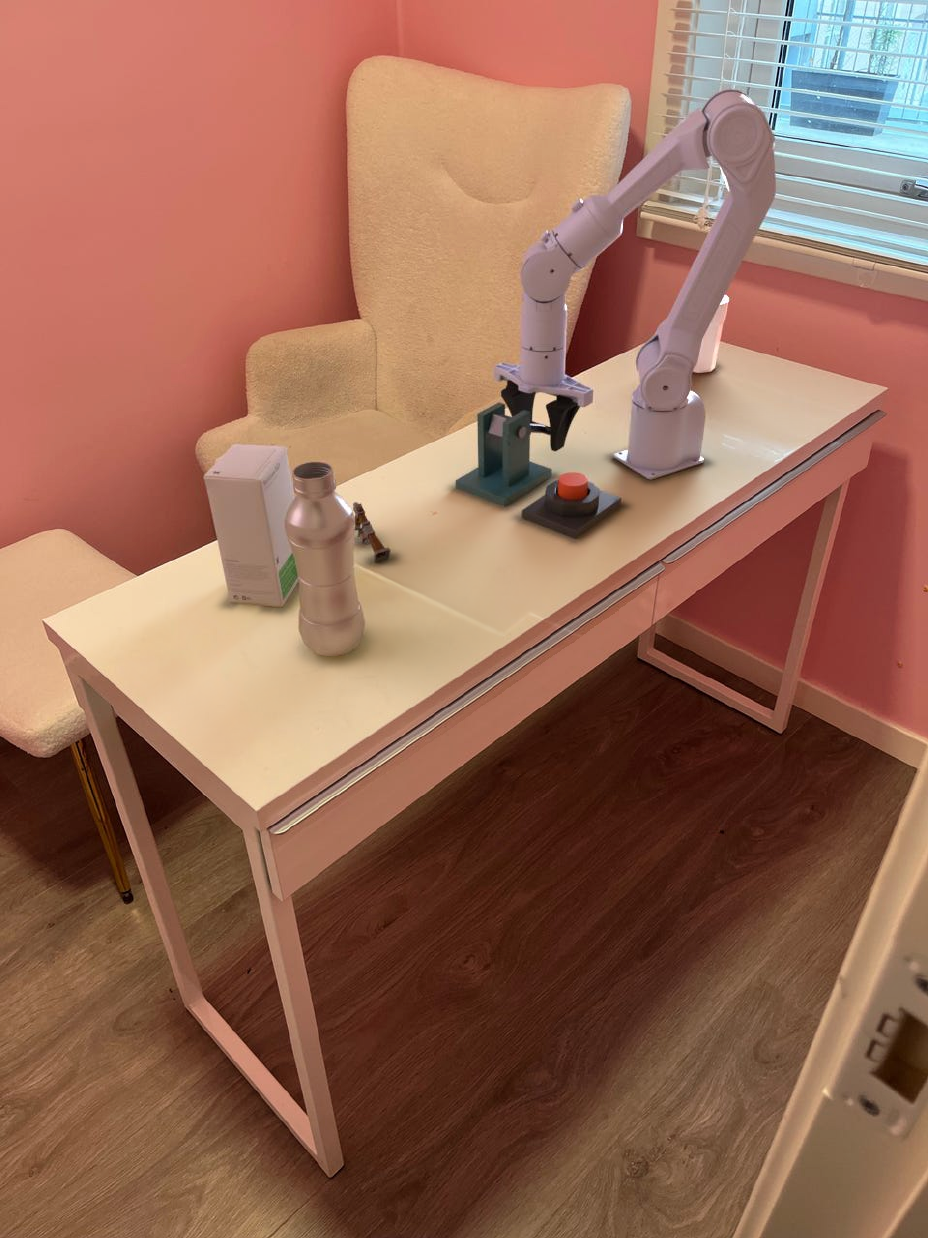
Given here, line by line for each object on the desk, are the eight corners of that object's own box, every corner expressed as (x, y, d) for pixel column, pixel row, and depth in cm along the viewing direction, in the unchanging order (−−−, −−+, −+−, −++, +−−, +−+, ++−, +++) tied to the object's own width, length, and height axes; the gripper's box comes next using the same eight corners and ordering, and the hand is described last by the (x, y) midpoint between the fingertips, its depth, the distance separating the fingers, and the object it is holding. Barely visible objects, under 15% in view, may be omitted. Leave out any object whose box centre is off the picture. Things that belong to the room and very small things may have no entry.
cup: (677, 373, 154) (685, 304, 148) (677, 357, 160) (684, 290, 153) (720, 375, 153) (730, 305, 147) (718, 359, 159) (727, 291, 152)
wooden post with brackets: (359, 519, 118) (362, 496, 114) (386, 570, 115) (390, 548, 111) (345, 523, 117) (348, 500, 114) (372, 575, 114) (376, 552, 110)
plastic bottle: (303, 628, 102) (277, 456, 90) (367, 623, 103) (349, 452, 91) (300, 666, 97) (271, 490, 85) (367, 662, 97) (349, 485, 85)
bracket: (503, 460, 132) (503, 391, 126) (551, 476, 128) (553, 407, 122) (455, 488, 126) (453, 418, 120) (504, 507, 122) (504, 435, 116)
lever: (527, 432, 131) (531, 415, 130) (557, 442, 129) (562, 424, 128) (479, 429, 123) (484, 411, 122) (511, 440, 120) (515, 421, 119)
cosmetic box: (282, 610, 105) (261, 482, 96) (225, 604, 106) (198, 477, 97) (307, 567, 112) (290, 444, 102) (253, 562, 113) (231, 440, 103)
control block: (568, 487, 125) (569, 466, 124) (621, 506, 121) (622, 484, 119) (521, 518, 119) (521, 497, 117) (575, 539, 115) (576, 517, 113)
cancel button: (568, 483, 121) (569, 469, 119) (593, 492, 119) (593, 477, 118) (551, 495, 119) (552, 480, 117) (576, 504, 117) (577, 489, 115)
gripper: (478, 340, 123) (479, 438, 132) (572, 366, 116) (567, 468, 124) (512, 324, 128) (511, 420, 136) (605, 349, 120) (598, 449, 128)
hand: (540, 442), depth 130 cm, fingers closed on lever, 5 cm apart
